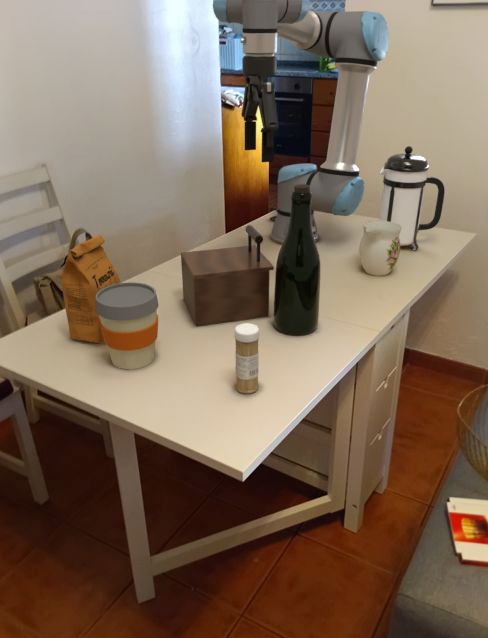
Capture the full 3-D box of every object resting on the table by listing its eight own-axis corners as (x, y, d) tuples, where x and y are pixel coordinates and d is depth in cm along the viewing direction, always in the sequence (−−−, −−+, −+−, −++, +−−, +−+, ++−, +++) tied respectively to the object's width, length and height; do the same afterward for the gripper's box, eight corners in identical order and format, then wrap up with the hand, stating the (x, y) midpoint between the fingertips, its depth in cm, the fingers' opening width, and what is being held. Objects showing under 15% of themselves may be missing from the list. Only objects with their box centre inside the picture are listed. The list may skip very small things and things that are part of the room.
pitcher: (409, 265, 172) (416, 219, 165) (382, 285, 160) (388, 236, 153) (375, 256, 178) (380, 212, 171) (346, 275, 166) (350, 227, 159)
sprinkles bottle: (252, 380, 119) (252, 320, 112) (262, 391, 115) (263, 330, 109) (231, 385, 117) (230, 325, 111) (241, 397, 114) (241, 335, 107)
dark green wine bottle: (290, 340, 133) (296, 194, 116) (264, 322, 141) (267, 183, 124) (326, 329, 138) (338, 187, 121) (300, 312, 145) (307, 176, 129)
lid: (254, 248, 150) (254, 219, 146) (273, 270, 138) (274, 239, 134) (180, 255, 145) (179, 226, 142) (193, 279, 133) (192, 247, 129)
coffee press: (404, 257, 177) (419, 154, 162) (362, 243, 188) (372, 145, 173) (437, 244, 187) (453, 146, 172) (395, 232, 198) (408, 138, 183)
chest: (250, 292, 156) (250, 248, 150) (268, 316, 143) (269, 270, 137) (183, 300, 151) (180, 256, 145) (196, 326, 139) (193, 279, 133)
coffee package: (133, 325, 139) (123, 235, 128) (99, 349, 130) (85, 254, 119) (99, 317, 143) (87, 229, 132) (64, 339, 134) (47, 246, 123)
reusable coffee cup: (167, 368, 123) (162, 303, 115) (105, 378, 120) (96, 311, 112) (157, 340, 133) (152, 278, 126) (101, 348, 130) (92, 285, 123)
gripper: (228, 52, 138) (229, 146, 149) (260, 59, 118) (259, 168, 128) (258, 51, 140) (257, 144, 151) (295, 58, 119) (292, 166, 130)
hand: (258, 155), depth 139 cm, fingers open, 13 cm apart
